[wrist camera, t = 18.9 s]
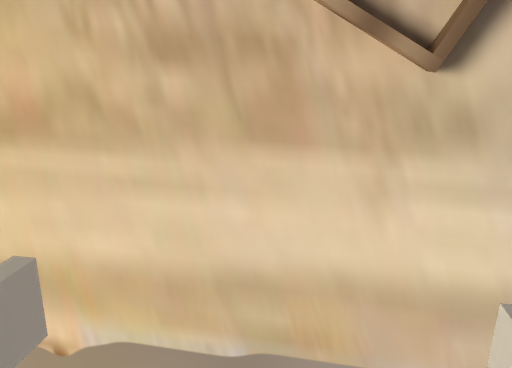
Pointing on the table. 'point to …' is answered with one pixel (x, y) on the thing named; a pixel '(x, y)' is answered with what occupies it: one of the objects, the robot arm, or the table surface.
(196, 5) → the table surface
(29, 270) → the robot arm
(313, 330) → the table surface
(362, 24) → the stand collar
